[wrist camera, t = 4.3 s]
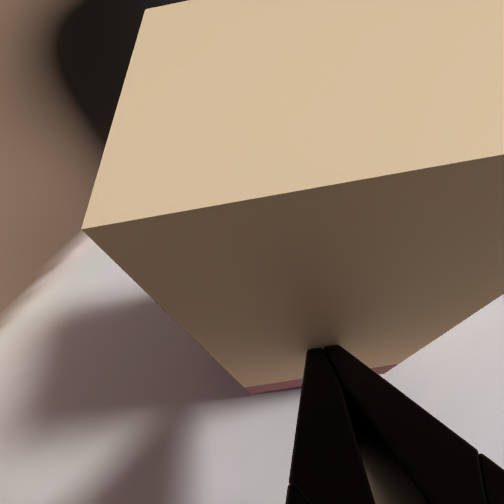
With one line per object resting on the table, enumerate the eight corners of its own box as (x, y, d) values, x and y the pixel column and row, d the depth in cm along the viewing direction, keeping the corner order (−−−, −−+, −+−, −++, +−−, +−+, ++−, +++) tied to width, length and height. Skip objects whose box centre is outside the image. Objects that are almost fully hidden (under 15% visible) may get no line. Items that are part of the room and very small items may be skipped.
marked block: (384, 373, 12) (784, 104, 2) (250, 393, 12) (81, 228, 2) (343, 259, 16) (431, -49, 6) (238, 277, 16) (145, 9, 6)
